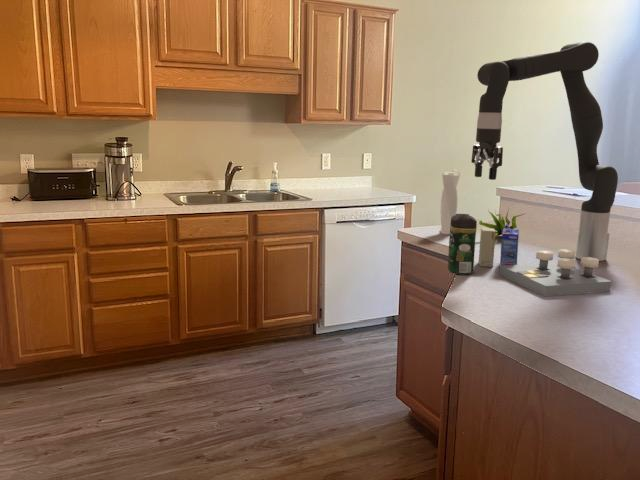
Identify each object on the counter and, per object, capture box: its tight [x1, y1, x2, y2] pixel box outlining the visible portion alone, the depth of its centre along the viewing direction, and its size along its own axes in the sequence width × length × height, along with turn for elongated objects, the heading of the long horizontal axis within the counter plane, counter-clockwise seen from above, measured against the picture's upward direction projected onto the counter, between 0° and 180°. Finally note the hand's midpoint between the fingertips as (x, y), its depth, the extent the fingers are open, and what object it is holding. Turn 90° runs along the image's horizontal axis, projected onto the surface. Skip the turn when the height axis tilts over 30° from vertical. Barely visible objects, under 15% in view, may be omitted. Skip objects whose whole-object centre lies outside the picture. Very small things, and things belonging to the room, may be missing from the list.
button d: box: [557, 258, 577, 278], centre depth 163 cm, size 5×5×5 cm
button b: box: [579, 257, 600, 276], centre depth 165 cm, size 5×5×5 cm
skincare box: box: [478, 227, 497, 268], centre depth 187 cm, size 6×4×12 cm
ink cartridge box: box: [499, 223, 520, 270], centre depth 185 cm, size 10×6×14 cm, turn 161°
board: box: [499, 262, 612, 297], centre depth 168 cm, size 22×22×3 cm
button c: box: [535, 250, 554, 269], centre depth 172 cm, size 5×5×5 cm
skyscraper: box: [439, 168, 461, 236], centre depth 237 cm, size 8×8×28 cm
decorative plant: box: [478, 207, 527, 238], centre depth 221 cm, size 18×30×15 cm, turn 135°
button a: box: [557, 248, 576, 260], centre depth 174 cm, size 5×5×5 cm
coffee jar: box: [447, 213, 478, 276], centre depth 177 cm, size 10×8×19 cm
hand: (484, 178), depth 181 cm, fingers open, 8 cm apart
